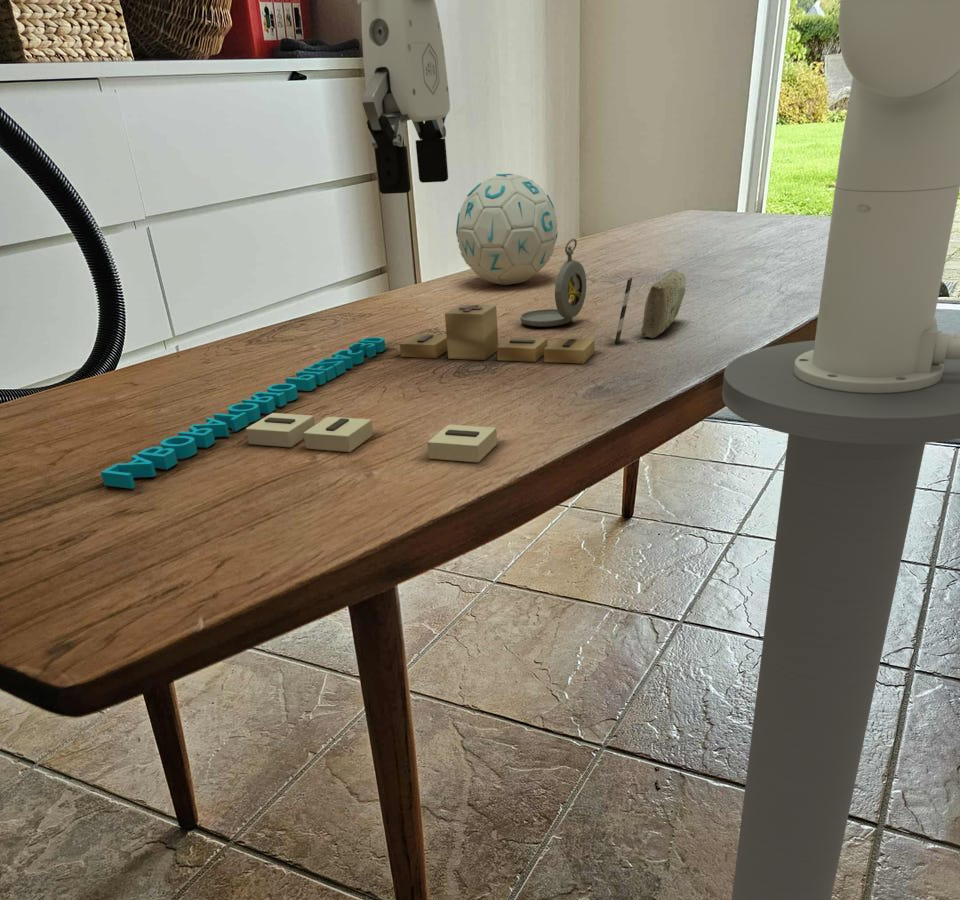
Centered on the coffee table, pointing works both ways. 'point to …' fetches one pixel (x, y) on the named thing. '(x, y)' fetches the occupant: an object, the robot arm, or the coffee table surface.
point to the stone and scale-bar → (658, 304)
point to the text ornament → (238, 415)
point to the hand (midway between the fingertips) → (415, 187)
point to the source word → (508, 349)
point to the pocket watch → (562, 295)
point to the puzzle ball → (507, 229)
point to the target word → (366, 436)
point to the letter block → (471, 331)
